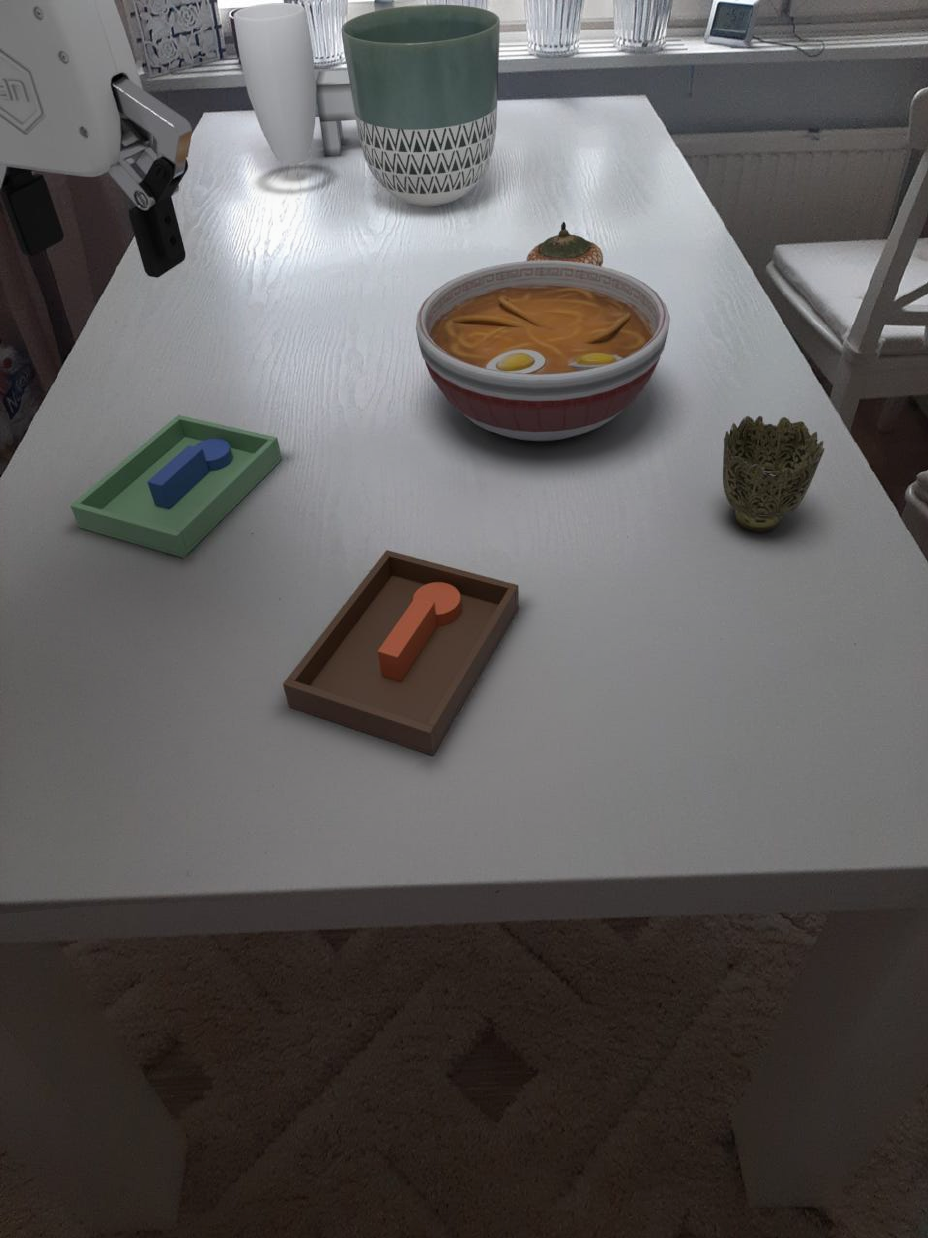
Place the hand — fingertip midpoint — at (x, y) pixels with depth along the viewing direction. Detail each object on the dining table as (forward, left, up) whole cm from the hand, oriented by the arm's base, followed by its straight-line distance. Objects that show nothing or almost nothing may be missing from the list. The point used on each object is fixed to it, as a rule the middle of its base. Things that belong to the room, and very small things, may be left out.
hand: (104, 257), depth 58 cm
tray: (-2, -20, -26) cm, 33 cm away
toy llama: (+95, +37, -26) cm, 105 cm away
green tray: (+8, +8, -26) cm, 28 cm away
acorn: (+52, -12, -26) cm, 59 cm away
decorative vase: (+22, -40, -26) cm, 53 cm away
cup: (+79, +40, -26) cm, 92 cm away
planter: (+78, +17, -26) cm, 84 cm away
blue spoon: (+10, +8, -25) cm, 28 cm away
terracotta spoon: (-1, -20, -25) cm, 32 cm away
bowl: (+32, -17, -26) cm, 45 cm away
